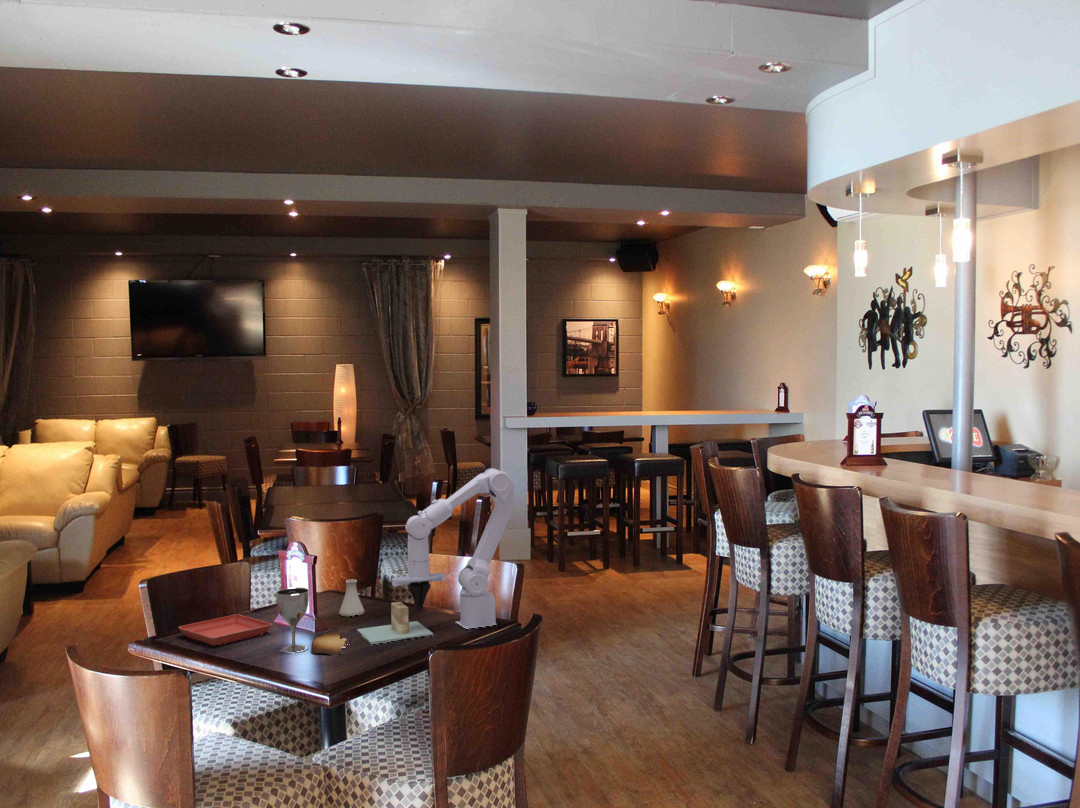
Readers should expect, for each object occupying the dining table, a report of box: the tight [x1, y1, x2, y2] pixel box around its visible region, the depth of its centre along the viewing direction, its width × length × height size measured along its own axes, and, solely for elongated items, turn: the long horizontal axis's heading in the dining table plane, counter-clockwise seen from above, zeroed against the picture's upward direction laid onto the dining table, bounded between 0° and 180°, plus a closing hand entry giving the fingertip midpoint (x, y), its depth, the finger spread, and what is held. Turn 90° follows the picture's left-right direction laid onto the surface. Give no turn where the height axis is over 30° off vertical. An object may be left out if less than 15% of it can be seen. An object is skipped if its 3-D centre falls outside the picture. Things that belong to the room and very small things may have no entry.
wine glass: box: [276, 587, 310, 652], centre depth 227 cm, size 8×8×15 cm
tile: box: [390, 601, 410, 635], centre depth 240 cm, size 3×7×7 cm, turn 26°
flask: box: [338, 579, 366, 617], centre depth 262 cm, size 7×7×10 cm
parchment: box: [310, 627, 355, 656], centre depth 233 cm, size 25×10×1 cm, turn 5°
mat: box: [356, 620, 434, 646], centre depth 240 cm, size 17×14×1 cm
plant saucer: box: [178, 614, 273, 646], centre depth 240 cm, size 18×18×3 cm
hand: (419, 609), depth 242 cm, fingers closed
